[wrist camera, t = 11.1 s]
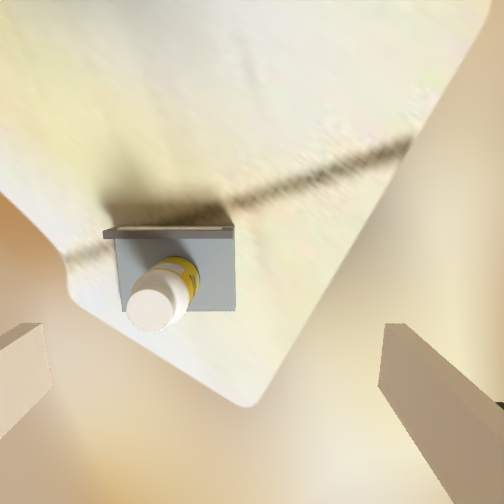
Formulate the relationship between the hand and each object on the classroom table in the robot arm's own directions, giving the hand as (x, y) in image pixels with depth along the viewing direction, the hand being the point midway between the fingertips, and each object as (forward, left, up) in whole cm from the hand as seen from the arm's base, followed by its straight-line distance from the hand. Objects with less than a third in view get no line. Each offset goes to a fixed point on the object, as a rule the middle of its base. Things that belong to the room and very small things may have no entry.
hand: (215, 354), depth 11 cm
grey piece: (+5, -9, -31) cm, 32 cm away
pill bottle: (+6, -9, -29) cm, 31 cm away
